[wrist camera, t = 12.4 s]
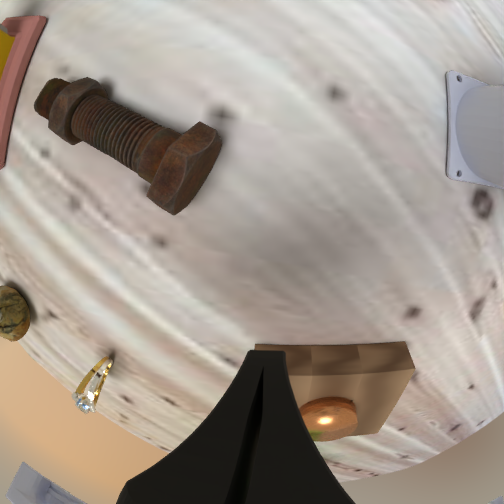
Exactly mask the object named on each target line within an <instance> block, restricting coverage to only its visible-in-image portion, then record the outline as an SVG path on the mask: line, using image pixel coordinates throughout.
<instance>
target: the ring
mask: <svg viewBox="0 0 504 504" xmlns="http://www.w3.org/2000/svg"><path fill="white" fill-rule="evenodd" d="M112 364H113V360H112V359H110V358H109V357H108V356H106V357H104V358H103V359H102V360H101V361H99V362H98V363H97V364H96V365H95V366H94V367H93V368H92V370H91V371H90V372H89V373H88V374H87V375H86V376H85V378H84V379H83V380H82V382H81V383H80V385H79V386H78V388H77V390H76V392H75V393H73V394H72V398H73V399H74V400H75V401H76V403H75V405H76V406H77V408H79V409H80V410H81V411H83V412H84V413H88V412H89V411H91V412H95V410H96V409H95V406H96V403H97V400H98V397H99V394H100V392H101V389H102V387H103V384H104V382H105V379H106V377H107V375H108V372H109V370H110V368H111V366H112ZM97 371H98V372H97ZM96 372H97V374H96V375H95V373H96ZM94 375H95V377H94V379H93V381H92V383H91V386H90V389H89V393H88V396H87V397H86V396H85V395H84V394H82V393H84V390H85V388H86V386H87V384H88V382H89V381H90V379H91V378H92V377H93V376H94ZM96 390H97V392H96ZM95 392H96V394H95ZM94 394H95V397H94ZM78 396H81V397H80V398H78ZM80 407H81V408H80Z"/></svg>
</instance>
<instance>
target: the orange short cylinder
mask: <svg viewBox="0 0 504 504" xmlns="http://www.w3.org/2000/svg"><path fill="white" fill-rule="evenodd" d="M299 410H300V413H301V415H302V418H303V420H304V423H305V425H306V427H307V429H308V431H309V433H310V436H311V438H312V440H313V441H331V440H336V439H340V438H343V437H345V436H347V435H349V434H351V433H352V432H353V431H355V429H356V428H357V426H358V421H357V413H356V406H355V404H354V402H353V401H351V400H349V399H347V398H343V397H323V398H318V399H315V400H312V401H309V402H307V403H305V404H304V405H302V406H301V407H300V408H299Z"/></svg>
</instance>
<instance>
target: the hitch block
mask: <svg viewBox="0 0 504 504" xmlns="http://www.w3.org/2000/svg"><path fill="white" fill-rule="evenodd" d="M254 350H278V351H284V352H286V365H287V371H288V375H289V380H290V383H291V387H292V390H293V393H294V396H295V400H296V402H297V405H298V408H300V407H301V406H302V405H304V404H305V403H307V402H309V401H312V400H315V399H318V398H323V397H343V398H347V399H349V400H351V401H353V402H354V404H355V406H356V413H357V421H358V426H357V428H356V429H355V431H353V432H352V433H351V434H349V435H347V436H357V435H367V434H375V433H378V431H379V430H380V428H381V427H382V425H383V424H384V422H385V421H386V419H387V418H388V416H389V415H390V413H391V411H392V410H393V408H394V407H395V405H396V403H397V402H398V400H399V398H400V396H401V395H402V393H403V391H404V389H405V388H406V386H407V384H408V382H409V380H410V378H411V376H412V374H413V372H414V371H415V369H416V368H415V366H414V363H413V360H412V358H411V355H410V353H409V350H408V348H407V345H406V343H405V342H393V343H379V344H360V345H323V346H301V345H264V344H255V349H254ZM345 437H346V436H345Z"/></svg>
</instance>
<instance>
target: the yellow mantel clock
mask: <svg viewBox="0 0 504 504" xmlns="http://www.w3.org/2000/svg"><path fill="white" fill-rule="evenodd" d="M45 23H46V17H43V16H22V17H11V18H6V19H5V20H4V21H3V22H2V24H0V170H1V169H2V168H3V166H4V163H5V156H6V149H7V143H8V137H9V131H10V126H11V122H12V117H13V113H14V109H15V105H16V101H17V97H18V94H19V90H20V87H21V84H22V80H23V77H24V74H25V71H26V69H27V66H28V63H29V60H30V58H31V55H32V53H33V50H34V48H35V45H36V43H37V41H38V38H39V36H40V34H41V32H42V30H43V27H44V25H45Z"/></svg>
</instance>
